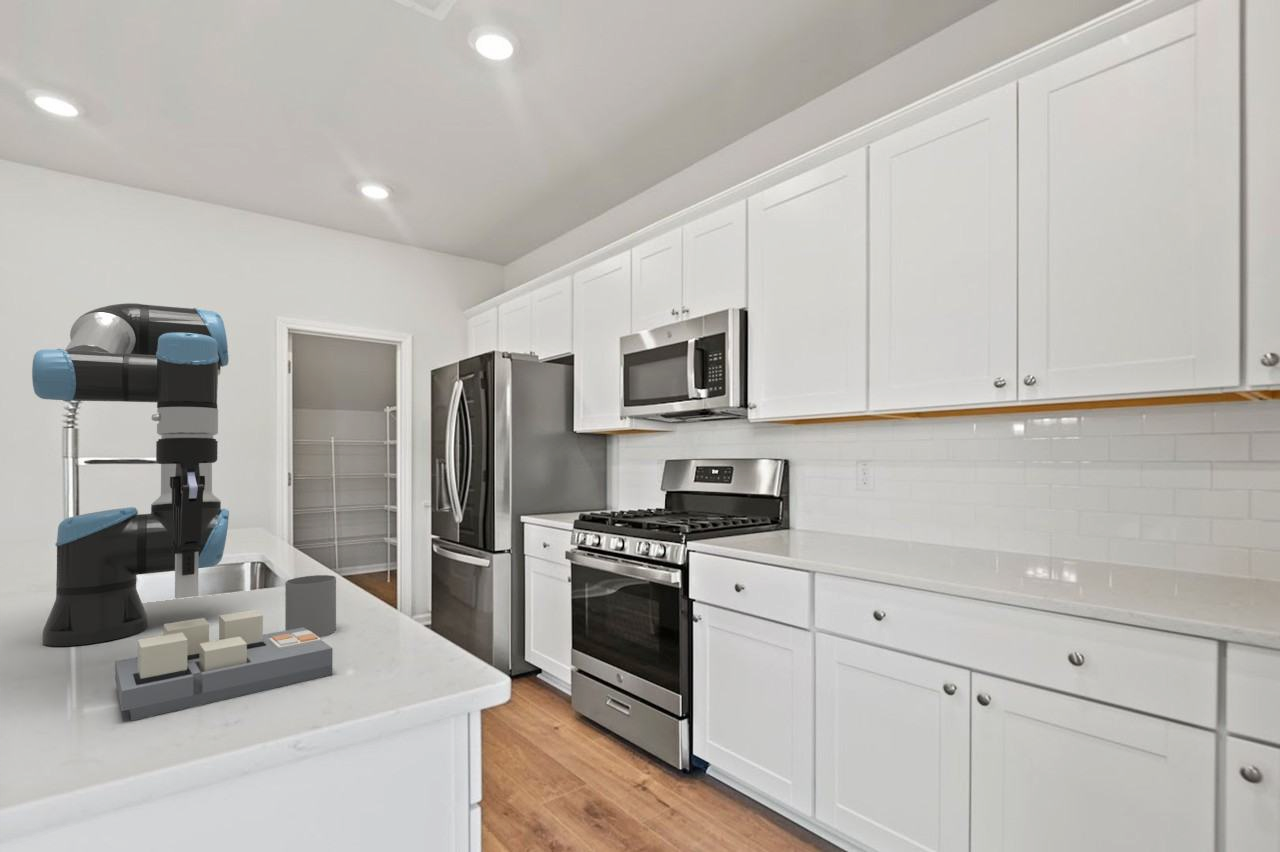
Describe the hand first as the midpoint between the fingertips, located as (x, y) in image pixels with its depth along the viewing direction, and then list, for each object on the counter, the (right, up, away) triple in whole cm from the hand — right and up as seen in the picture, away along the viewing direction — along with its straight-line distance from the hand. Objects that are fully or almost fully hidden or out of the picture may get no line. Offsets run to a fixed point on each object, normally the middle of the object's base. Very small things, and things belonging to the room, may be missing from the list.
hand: (186, 596), depth 96 cm
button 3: (+7, -10, -3) cm, 13 cm away
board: (+6, -13, 0) cm, 14 cm away
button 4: (+5, -8, +5) cm, 11 cm away
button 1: (+2, -8, -8) cm, 11 cm away
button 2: (0, -8, 0) cm, 8 cm away
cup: (+6, -14, +25) cm, 29 cm away
